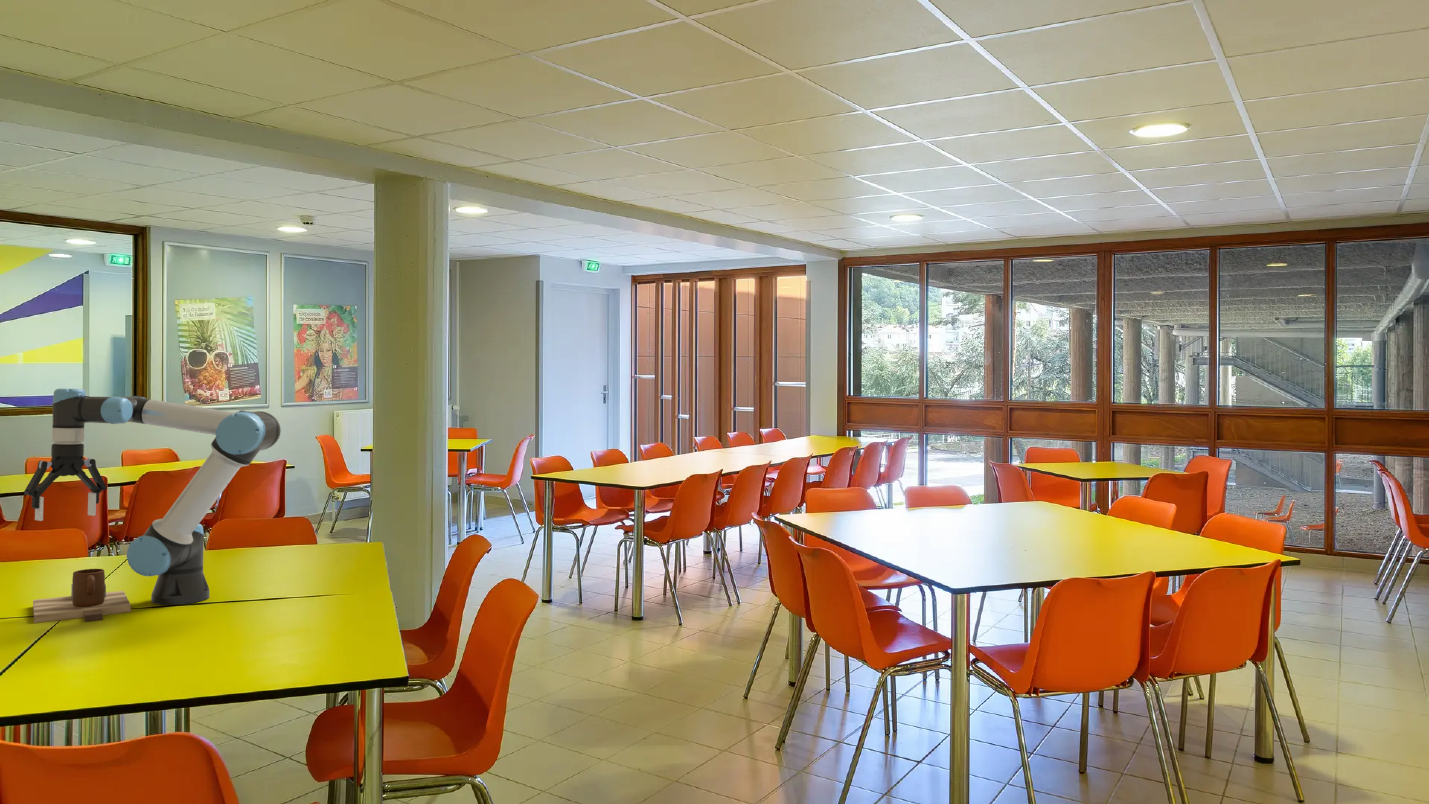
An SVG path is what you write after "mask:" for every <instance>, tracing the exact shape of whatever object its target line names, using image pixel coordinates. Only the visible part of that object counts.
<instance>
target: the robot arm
mask: <svg viewBox="0 0 1429 804" xmlns="http://www.w3.org/2000/svg"><path fill="white" fill-rule="evenodd" d="M51 405H52V426H51V442H53V443H52V444H51V451H50V455H51V460H50V461H46V460H39V461H38V462H37V466H36V467H37V468H36V470H35V472H34V473H33V475H32V477H31V479H30V480H29V482H28V484H27V485H26V487H25V490H24V491H23V494H24V495H26V496H30V497H31V509H34V521H39V522H41V521H44V500H45V499H44V498H45V497H44V496H42V495H43V493H44V492H46V490H47V489H48V488H49V487H50V486H51V485H52V484H53V482H55V481H56V479H58V478H59V477H68V476H73V477H74V476H76V477H77V478H78V479H79V480H80V481H81V482H82V483H83V484H84V485H85V486H86V487H87V488H88V489H89V490H90V492H87V493H88V495H87V499H88V500H87V516H92V517H94V516H96V512H97V504H99V503H100V493H102V491H105V490H107V489H108V487H107V485H106V483H105V480H104V479H103V478H102V475H101V473H100V472H99V471H100V470H98V468H97V465H96V463H97V462H96V459H94V458H87V459H84V453H85V444H84V443H83V442H85V423H94V424H97V423H98V424H111V425H114V424H115V425H118V424H126V423H136V424H142V425H150V426H157V427H162V428H163V427H164V428H167V429H176V430H182V431H188V432H194V433H201V434H207V435H213V436H215V437H214V439H213V440H212V442H211V443H210V447H211V449H212V450H211V451H212V452H210V454H209V455H208V457H207V458H206V460H205V461H204V462H203V463H202V464H201V466H200V467H199V469H198V470H197V472H196V473H195V474H194V476H193V477H192V479H190V481H189V483H187V485H186V487H184V489H183V491H182V492H181V493H180V495H179V496H178V497H177V499H176V500H175V501H174V502H173V504H172V506H171V507H170V508H169V509H168V511H167V512H166V514H165V515H164V516H163V518H159V519H158V518H157V519H155V520H153V521H152V523H151V524H150V526H148V528H147V529H146V531H145V533H144V534H143V535H141V536H140V535H139V536H138V537H137V538H135V539H133V540H132V541H131V542H130V544H128V547H127V549H126V559H127V563H128V566H129V567H130V568H131V569H132V571H133V572H135V573H136V574H139V575H140V576H144V577H155V576H157V578H156V581H155V584H154V586H153V590H152V592H151V595H150V596H151V599H150V601H151V603H152V604H154V605H163V606H168V605H169V606H174V605H175V606H176V605H187V604H192V603H198V602H202V601H205V600H208V599H209V598H210V588H209V584H208V583H207V578H206V576H205V573H204V541H205V540H204V538H205V532H204V526H203V525H202V524H201V522H202V520H203V519H204V517H205V516H206V515H207V514H208V512H209V511H210V509H211V508H212V506H213V505H214V504H215V502H216V501H217V500H218V499H219V497H220V496H221V495H222V493H223V492H224V490H225V489H226V488H227V487H228V485H229V484H230V482H231V481H232V479H233V478H234V477H235V475H236V474H237V473H238V471H239V470H240V469H241V468H242V467H247V466H250V464H251V463H252V462H253V460H254V459H255V457H256V456H257V454H259V452H260V451H265V450H267V449H269V448H272V447H273V446H274V445H276V443H277V442H278V441H279V439H280V436H281V431H282V429H281V425H280V423H279V420H278V418H276V417H275V416H274V415H272V414H271V413H269V412H266V411H260V410H258V411H250V410H249V411H248V410H244V409H243V410H242V409H241V410H238V411H236V412H234V411H233V412H231V411H226V410H220V409H214V408H207V407H203V406H201V407H200V406H196V405H195V406H194V405H188V404H183V403H182V404H181V403H175V402H169V401H162V400H156V399H149V398H147V397H143V396H139V395H131V396H91V395H90V396H89V395H87V394H86V390H85V389H82V388H57V389H55V390H54V391H53V397H52V403H51ZM84 466H85V467H87V468H86V469H87V471H88V472H89V474H90V475H91V478H92V479H91V478H90V477H89V476H88V475H87V474H86V472H85V471H84V470H83V467H84ZM49 468H51V471H49V473H47V476H46V477H45V478H43V477H44V476H45V474H46V472H47V470H48V469H49ZM42 479H43V480H42Z"/></svg>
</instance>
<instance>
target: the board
mask: <svg viewBox="0 0 1429 804" xmlns="http://www.w3.org/2000/svg"><path fill="white" fill-rule="evenodd" d="M131 606H132V604H131V603H130V601H129V599H128V596H127V595H126V593H125V591H124V590H117V591H109V592H108V591H106V597H105V599H104V602H103V603H102V604H99V605H95V606H87V607H77V606H74V605H73V602H72V597H71V595H68V596H66V595H65V596H57V597H49V598H39V599H33V600H32V607H33V608H32V610H33V611H32V613H33V623H34V624H36V623H47V622H53V621H55V622H56V621H62V620H63V621H64V620H70V619H71V620H72V619H81V618H82V619H83V620H84V622H85V623H87V622H95V621H103V616H106V615H107V616H108V615H115V614H125V613H131V612H132V607H131Z"/></svg>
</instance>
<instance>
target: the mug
mask: <svg viewBox="0 0 1429 804" xmlns="http://www.w3.org/2000/svg"><path fill="white" fill-rule="evenodd" d="M105 577H106V575H105V569H103V568H86V569H80V570H75V571H73V573H72V578H71V579H72V581H71V583H72V602H73V605H74V606H77V607H87V606H95V605H99V604H102V603H103V602H104V599H105V585H106V579H105Z"/></svg>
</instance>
